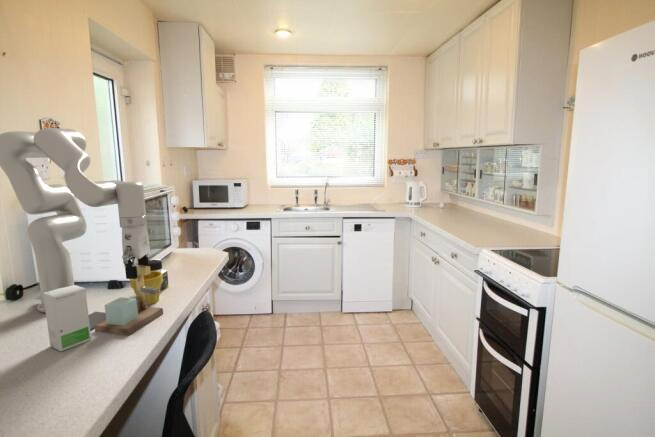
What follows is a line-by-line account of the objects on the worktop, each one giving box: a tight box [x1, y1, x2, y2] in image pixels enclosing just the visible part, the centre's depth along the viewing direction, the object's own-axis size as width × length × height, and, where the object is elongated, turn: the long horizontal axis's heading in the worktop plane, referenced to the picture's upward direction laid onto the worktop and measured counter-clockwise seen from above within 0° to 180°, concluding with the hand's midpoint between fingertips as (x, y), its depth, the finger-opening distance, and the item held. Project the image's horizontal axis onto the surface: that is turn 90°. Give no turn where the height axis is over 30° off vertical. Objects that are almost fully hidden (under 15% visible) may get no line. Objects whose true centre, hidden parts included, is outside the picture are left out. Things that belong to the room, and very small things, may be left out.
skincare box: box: [43, 284, 92, 352], centre depth 103 cm, size 8×7×16 cm
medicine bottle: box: [148, 258, 170, 294], centre depth 142 cm, size 7×7×12 cm
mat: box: [88, 311, 106, 332], centre depth 116 cm, size 9×11×1 cm
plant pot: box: [129, 271, 163, 306], centre depth 131 cm, size 10×10×10 cm
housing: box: [94, 305, 164, 336], centre depth 116 cm, size 12×15×2 cm
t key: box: [135, 264, 159, 310], centre depth 119 cm, size 2×11×14 cm, turn 68°
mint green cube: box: [104, 296, 138, 326], centre depth 112 cm, size 6×6×6 cm
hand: (138, 273), depth 119 cm, fingers open, 9 cm apart
